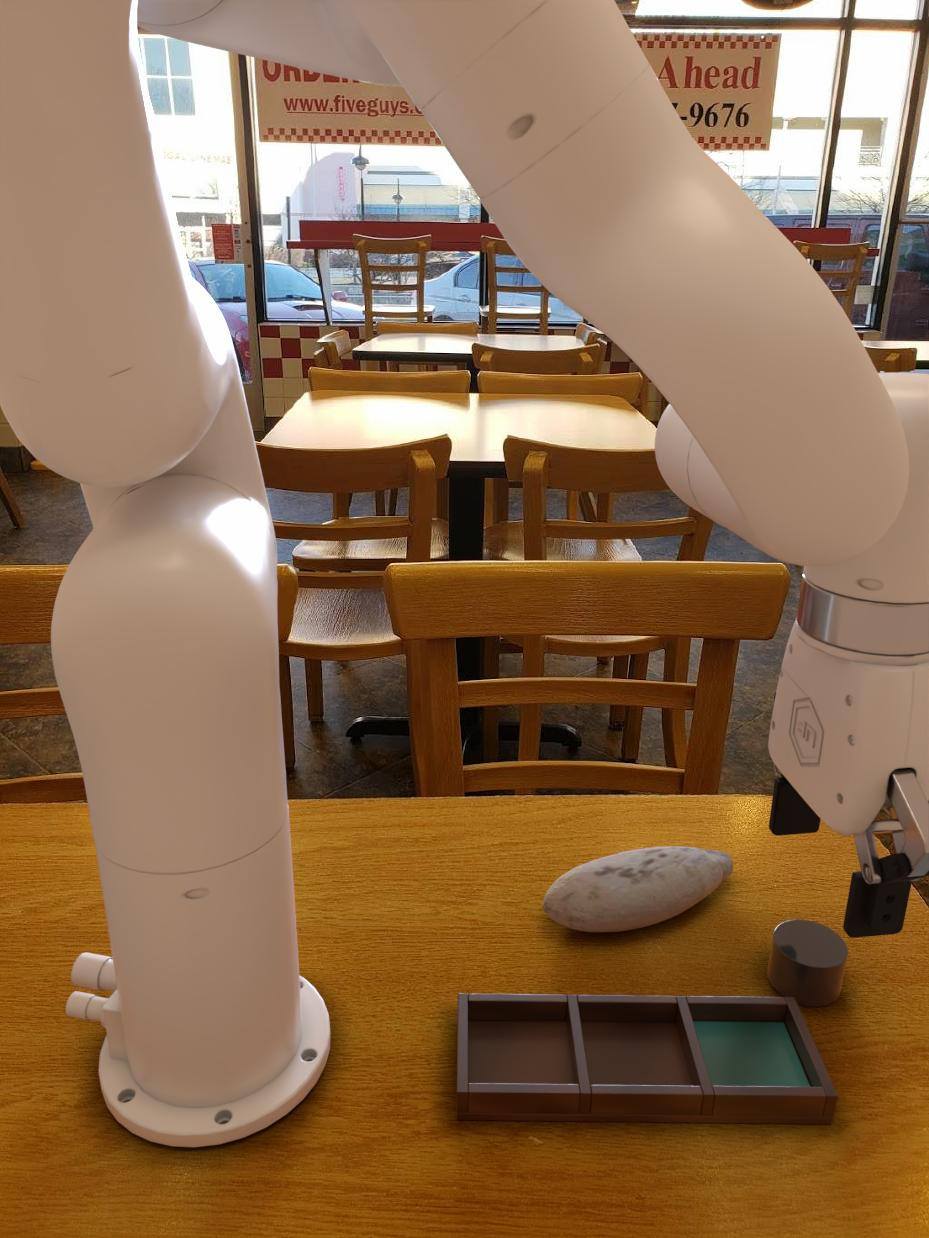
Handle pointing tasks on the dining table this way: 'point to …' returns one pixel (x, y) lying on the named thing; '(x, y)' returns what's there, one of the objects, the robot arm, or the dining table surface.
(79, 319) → the robot arm
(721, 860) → the decorative stone
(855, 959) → the dining table surface
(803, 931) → the dark gray cylinder
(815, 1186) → the dining table surface
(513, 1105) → the divided tray
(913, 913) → the dining table surface
